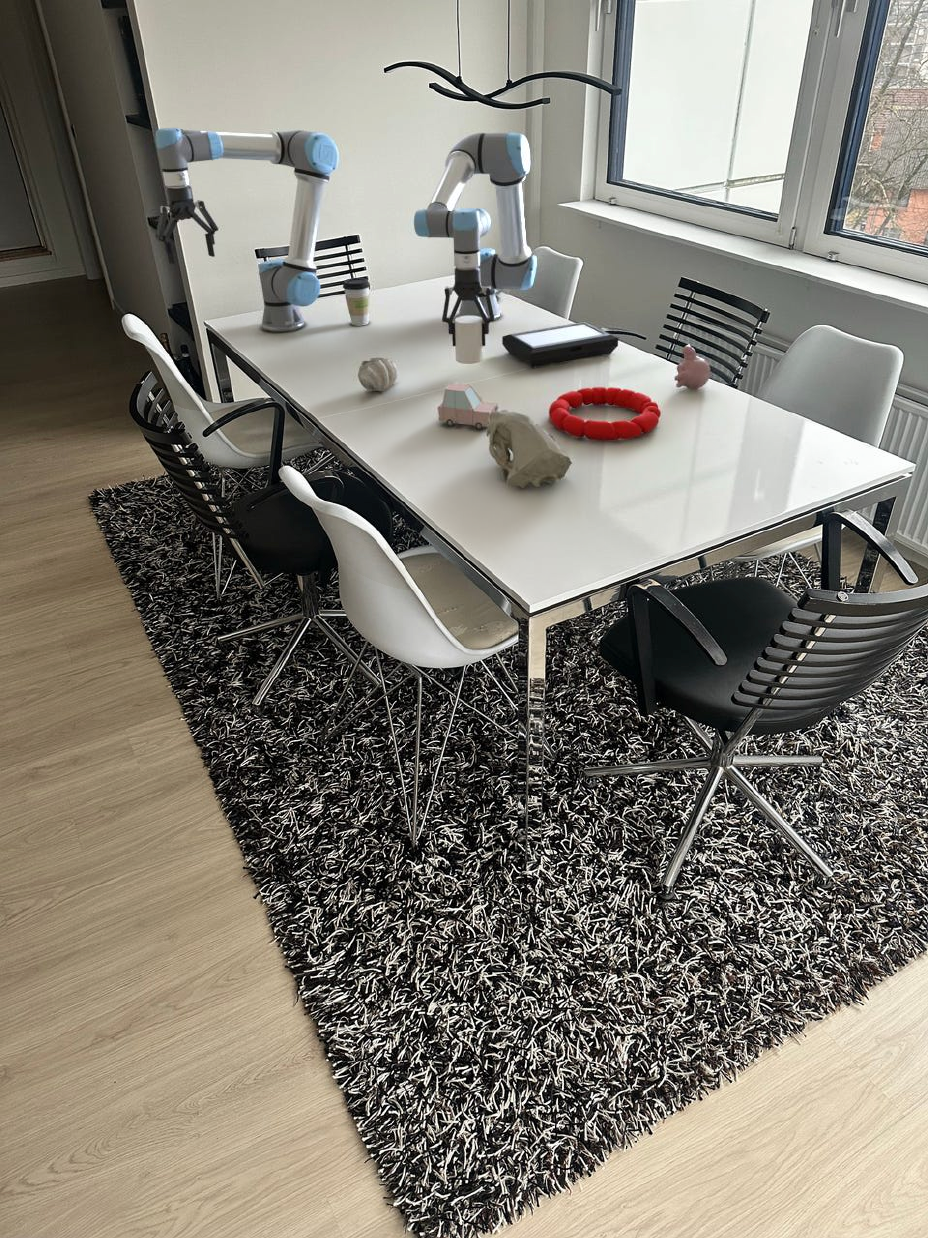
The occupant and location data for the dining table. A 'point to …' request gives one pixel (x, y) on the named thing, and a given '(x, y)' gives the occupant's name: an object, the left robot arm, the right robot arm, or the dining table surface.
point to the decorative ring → (604, 428)
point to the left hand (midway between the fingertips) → (192, 259)
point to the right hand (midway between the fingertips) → (469, 344)
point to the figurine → (692, 370)
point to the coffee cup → (357, 300)
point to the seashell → (377, 374)
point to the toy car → (465, 406)
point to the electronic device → (559, 344)
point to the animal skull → (525, 450)
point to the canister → (468, 339)
